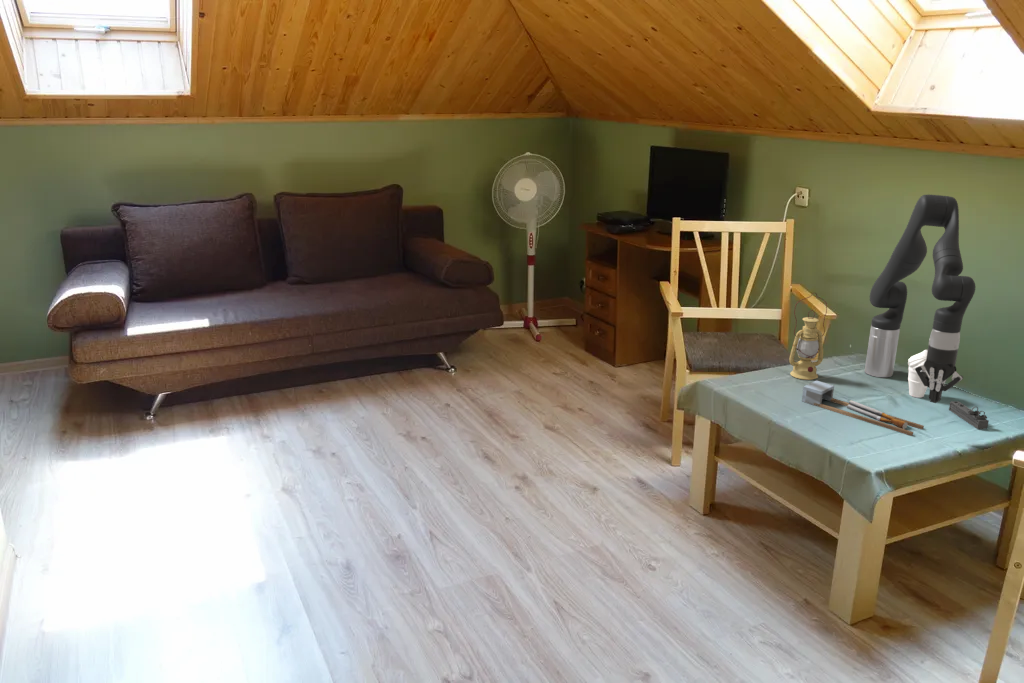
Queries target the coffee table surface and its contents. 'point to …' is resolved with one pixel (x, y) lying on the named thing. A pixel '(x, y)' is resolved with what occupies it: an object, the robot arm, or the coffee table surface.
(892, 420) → the chisel
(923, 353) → the soft serve ice cream cone
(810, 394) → the holder
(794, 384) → the coffee table surface
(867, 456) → the coffee table surface
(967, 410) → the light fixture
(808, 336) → the lantern
